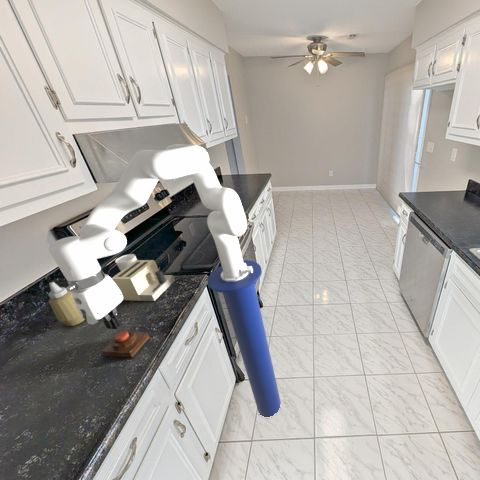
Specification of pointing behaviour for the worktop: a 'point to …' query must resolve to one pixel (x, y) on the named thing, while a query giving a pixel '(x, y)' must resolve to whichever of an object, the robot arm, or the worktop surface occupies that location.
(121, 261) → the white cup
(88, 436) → the worktop surface
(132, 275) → the toaster
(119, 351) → the base
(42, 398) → the worktop surface
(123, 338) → the timer button
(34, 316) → the worktop surface
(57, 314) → the squeeze bottle
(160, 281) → the toaster slider
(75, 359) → the worktop surface
